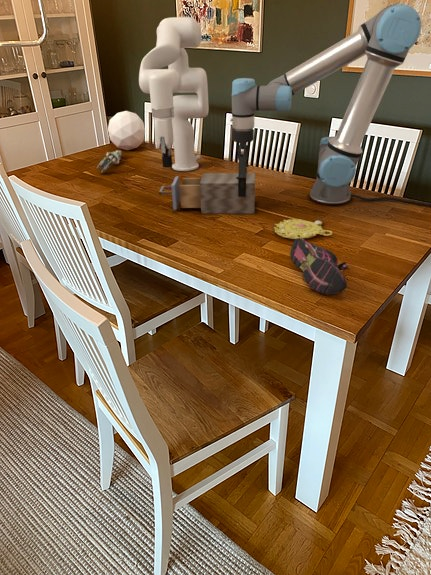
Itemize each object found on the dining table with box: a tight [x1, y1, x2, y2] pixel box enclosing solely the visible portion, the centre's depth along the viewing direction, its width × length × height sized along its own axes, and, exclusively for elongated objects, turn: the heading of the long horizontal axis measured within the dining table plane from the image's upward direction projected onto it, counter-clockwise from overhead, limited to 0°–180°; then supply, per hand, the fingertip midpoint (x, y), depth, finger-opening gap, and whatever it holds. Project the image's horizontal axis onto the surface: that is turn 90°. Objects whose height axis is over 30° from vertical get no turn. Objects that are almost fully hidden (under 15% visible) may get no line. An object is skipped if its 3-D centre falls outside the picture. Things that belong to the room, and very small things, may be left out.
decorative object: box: [273, 218, 333, 240], centre depth 145 cm, size 21×2×20 cm
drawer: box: [158, 175, 202, 211], centre depth 164 cm, size 24×10×9 cm, turn 86°
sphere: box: [107, 110, 146, 151], centre depth 234 cm, size 19×20×20 cm
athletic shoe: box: [289, 238, 350, 295], centre depth 119 cm, size 11×22×12 cm
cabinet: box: [200, 172, 256, 215], centre depth 163 cm, size 20×11×11 cm, turn 85°
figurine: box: [96, 150, 123, 174], centre depth 213 cm, size 7×8×30 cm
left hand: (167, 166), depth 159 cm, fingers closed
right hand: (242, 190), depth 162 cm, fingers closed on cabinet, 11 cm apart
